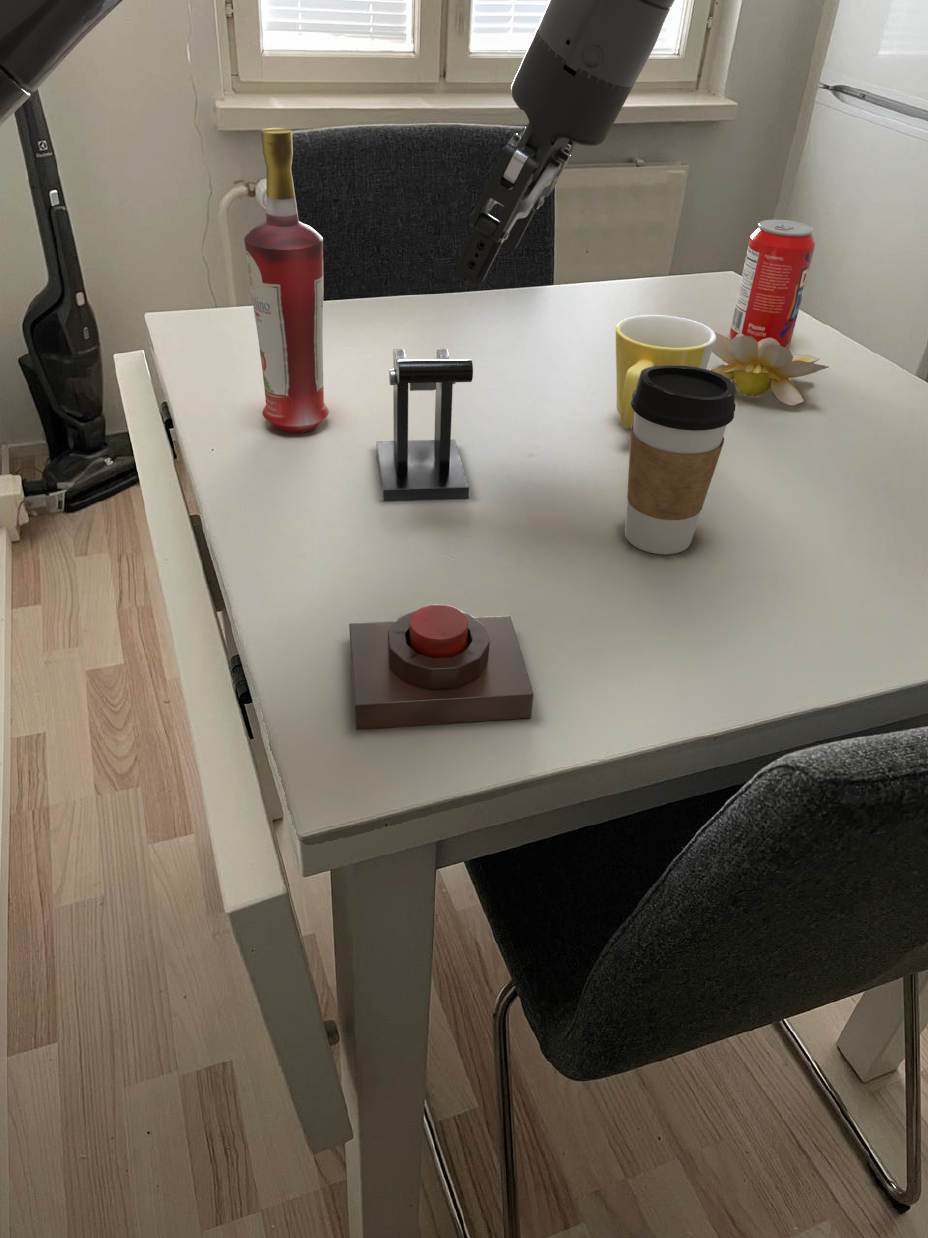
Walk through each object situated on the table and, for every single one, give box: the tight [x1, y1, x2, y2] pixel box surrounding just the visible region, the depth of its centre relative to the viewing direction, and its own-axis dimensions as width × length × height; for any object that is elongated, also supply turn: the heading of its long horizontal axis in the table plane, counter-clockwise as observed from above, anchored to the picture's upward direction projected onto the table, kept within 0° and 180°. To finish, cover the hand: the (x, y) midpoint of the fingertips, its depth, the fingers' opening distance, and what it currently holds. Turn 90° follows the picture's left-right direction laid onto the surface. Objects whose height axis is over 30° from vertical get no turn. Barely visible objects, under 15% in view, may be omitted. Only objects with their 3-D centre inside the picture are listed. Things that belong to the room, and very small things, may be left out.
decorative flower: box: [709, 331, 830, 406], centre depth 110 cm, size 15×11×10 cm
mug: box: [615, 314, 716, 429], centre depth 101 cm, size 14×10×10 cm
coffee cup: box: [624, 365, 736, 555], centre depth 81 cm, size 8×8×15 cm
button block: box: [348, 610, 535, 730], centre depth 67 cm, size 12×9×4 cm
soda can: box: [729, 219, 816, 348], centre depth 121 cm, size 8×8×15 cm
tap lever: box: [397, 358, 474, 392], centre depth 83 cm, size 12×6×2 cm, turn 8°
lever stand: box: [376, 348, 470, 502], centre depth 90 cm, size 10×8×12 cm
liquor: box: [243, 127, 330, 434], centre depth 93 cm, size 7×7×28 cm
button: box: [410, 604, 468, 658], centre depth 66 cm, size 4×4×2 cm
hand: (486, 260), depth 75 cm, fingers open, 8 cm apart
